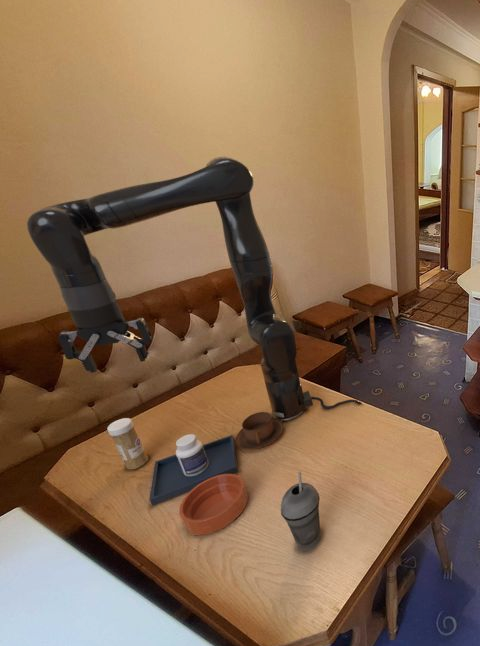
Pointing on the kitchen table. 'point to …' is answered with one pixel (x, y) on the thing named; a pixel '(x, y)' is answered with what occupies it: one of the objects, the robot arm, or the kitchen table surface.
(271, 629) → the kitchen table surface
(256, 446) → the cup and saucer
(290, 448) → the kitchen table surface
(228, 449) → the tray
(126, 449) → the sprinkles bottle
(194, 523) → the bowl
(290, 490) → the beverage cup
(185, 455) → the pill bottle
